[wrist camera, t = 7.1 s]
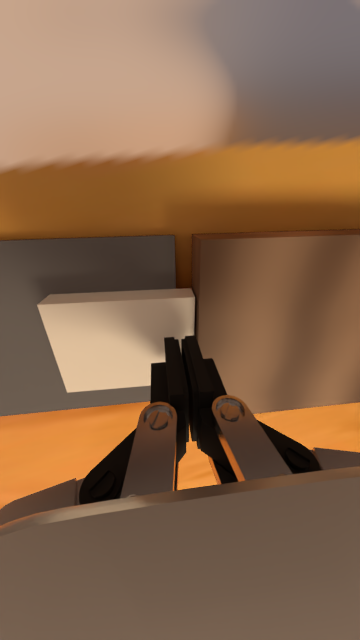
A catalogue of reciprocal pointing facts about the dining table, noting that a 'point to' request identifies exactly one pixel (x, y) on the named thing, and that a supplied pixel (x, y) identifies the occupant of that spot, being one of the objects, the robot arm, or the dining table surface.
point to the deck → (280, 315)
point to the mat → (63, 278)
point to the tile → (114, 334)
